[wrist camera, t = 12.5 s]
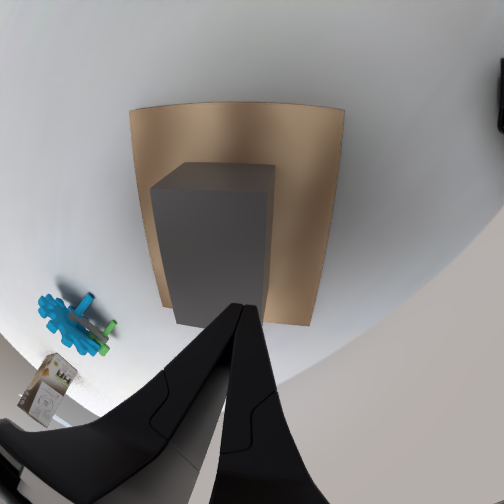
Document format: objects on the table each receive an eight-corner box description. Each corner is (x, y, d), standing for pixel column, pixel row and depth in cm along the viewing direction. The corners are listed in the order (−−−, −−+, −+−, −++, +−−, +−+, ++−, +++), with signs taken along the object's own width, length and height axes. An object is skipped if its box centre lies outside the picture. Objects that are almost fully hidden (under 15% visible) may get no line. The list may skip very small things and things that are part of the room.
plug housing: (275, 165, 16) (267, 193, 12) (268, 288, 22) (260, 336, 18) (184, 162, 17) (149, 188, 13) (197, 280, 23) (176, 323, 19)
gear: (41, 292, 28) (27, 321, 20) (65, 260, 30) (55, 281, 22) (99, 339, 34) (105, 377, 26) (122, 310, 35) (133, 343, 27)
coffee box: (56, 351, 43) (22, 409, 29) (78, 371, 45) (47, 428, 32) (46, 355, 46) (16, 405, 33) (65, 372, 49) (38, 423, 36)
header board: (342, 109, 15) (353, 113, 12) (309, 318, 25) (309, 348, 22) (136, 109, 16) (108, 116, 13) (166, 300, 26) (153, 325, 23)
